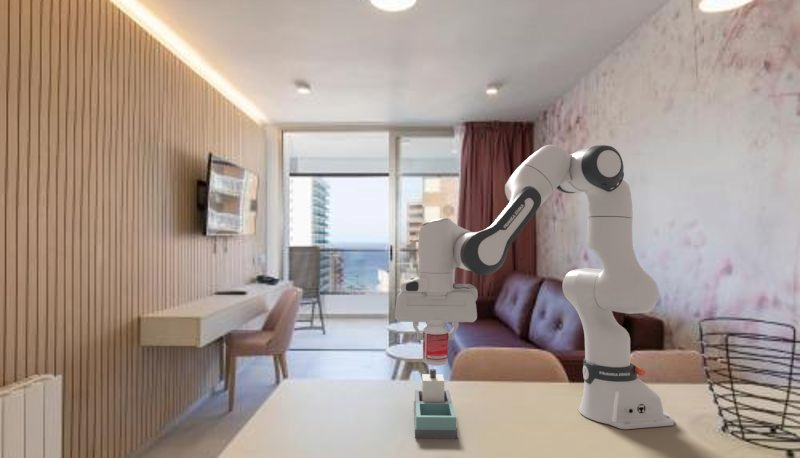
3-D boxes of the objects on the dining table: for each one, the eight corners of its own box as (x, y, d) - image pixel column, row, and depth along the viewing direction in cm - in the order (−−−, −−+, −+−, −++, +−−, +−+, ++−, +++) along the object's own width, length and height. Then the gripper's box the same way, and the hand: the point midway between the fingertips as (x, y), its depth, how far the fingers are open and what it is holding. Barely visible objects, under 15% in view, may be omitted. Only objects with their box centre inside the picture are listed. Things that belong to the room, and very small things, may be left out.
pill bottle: (452, 363, 109) (453, 318, 109) (432, 367, 105) (433, 321, 106) (437, 357, 114) (437, 314, 114) (417, 361, 111) (418, 316, 111)
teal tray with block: (449, 408, 123) (449, 365, 123) (457, 438, 105) (457, 387, 105) (413, 408, 123) (413, 364, 123) (415, 438, 105) (415, 387, 105)
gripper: (475, 282, 113) (475, 337, 113) (395, 281, 113) (395, 336, 113) (479, 285, 107) (479, 343, 107) (394, 284, 107) (394, 342, 107)
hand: (435, 339), depth 110 cm, fingers closed on pill bottle, 6 cm apart
